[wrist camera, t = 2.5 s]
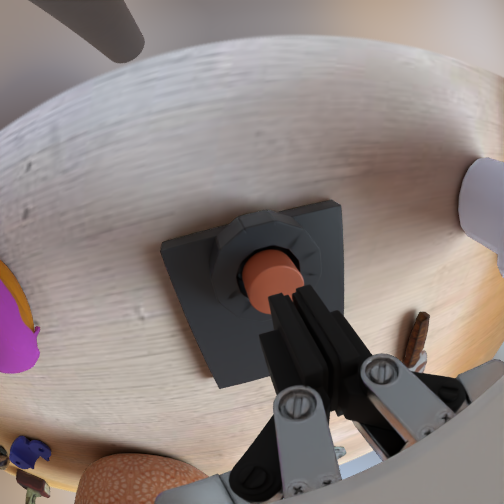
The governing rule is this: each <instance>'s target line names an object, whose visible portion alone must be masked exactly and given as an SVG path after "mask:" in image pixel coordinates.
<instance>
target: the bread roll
mask: <svg viewBox="0 0 504 504" xmlns="http://www.w3.org/2000/svg"><path fill="white" fill-rule="evenodd" d="M9 463H10V459H9V457H7V455H4V454H2V453H0V469H3V470H6V468H7V466H8V464H9Z"/></svg>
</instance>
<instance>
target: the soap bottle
mask: <svg viewBox="0 0 504 504" xmlns="http://www.w3.org/2000/svg"><path fill="white" fill-rule="evenodd" d="M458 212H459V218H460V224H461V227H462V229H463V230H464V232H465V233H466V235H467V236H468V237H470V238H472V239H473V240H475V241H477V242H479V243H480V244H482V245H484V246H485V247H487V248H488V249H490V250H492V251H493V252H495V253H496V254H498V260H497V266H498V268H499V271H500V273H501V275H502V277H503V278H504V162H501V161H498V160H495V159H492V158H488V157H487V158H480V159H477V160H476V161H475V162H474V163H473V164H472V165H471V166H470V167H469V169H468V171H467V173H466V175H465V177H464V179H463V182H462V186H461V190H460V194H459V207H458Z"/></svg>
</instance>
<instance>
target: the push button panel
mask: <svg viewBox="0 0 504 504" xmlns="http://www.w3.org/2000/svg"><path fill="white" fill-rule="evenodd" d="M269 249H273V250H279V251H281V252H283V253H285V254H286V255H287V256H288V257H289V258H290V259H291V261H292V262H293V264H294V265H295V266H296V268H297V269H298V271H299V272H300V273H301V275H302V277H303V280H304V286H305V285H309V284H310V285H311V286H312V287H313V289H314V290H315V291H316V293H317V294H318V296H319V297H320V298H321V300H322V301H323V303H324V304H325V306H326V307H327V308H328V310H329V311H330V312H333V311H335V310H339V311H340V312H341V313H342V315H343V316H344V250H343V226H342V210H341V205H340V204H338V203H337V202H335V201H333V200H328V201H324V202H319V203H315V204H311V205H306V206H302V207H298V208H293V209H289V210H285V211H281V212H273V211H270V210H262V211H258V212H254V213H250V214H246V215H242V216H239V217H237V218H235V219H234V220H233V221H232V222H231V223H230V224H228V225H224V226H221V227H217V228H213V229H209V230H205V231H202V232H198V233H194V234H190V235H187V236H183V237H179V238H176V239H172V240H168V241H165V242H162V246H161V250H160V252H161V255H162V257H163V260H164V263H165V266H166V268H167V271H168V274H169V276H170V279H171V281H172V284H173V287H174V289H175V292H176V294H177V297H178V299H179V302H180V304H181V306H182V309H183V311H184V314H185V316H186V318H187V321H188V323H189V325H190V328H191V330H192V332H193V334H194V337H195V339H196V341H197V343H198V346H199V348H200V350H201V352H202V354H203V356H204V359H205V361H206V363H207V365H208V367H209V369H210V371H211V373H212V375H213V377H214V379H215V381H216V383H217V385H218V387H219V389H221V388H226V387H230V386H234V385H238V384H242V383H246V382H250V381H254V380H257V379H261V378H265V377H268V376H270V374H269V371H268V368H267V365H266V362H265V358H264V355H263V351H262V348H261V344H260V340H259V334H262V333H266V332H269V331H273V330H274V327H273V322H272V316H271V314H265V313H262V312H260V311H258V310H256V309H255V308H254V307H253V306H252V305H251V303H250V301H249V298H248V295H247V292H246V289H245V286H244V283H243V280H242V271H243V268H244V266H245V264H246V262H247V261H248V260H249V259H250V258H251V257H252V256H253V255H254V254H256V253H258V252H260V251H263V250H269Z"/></svg>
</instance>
